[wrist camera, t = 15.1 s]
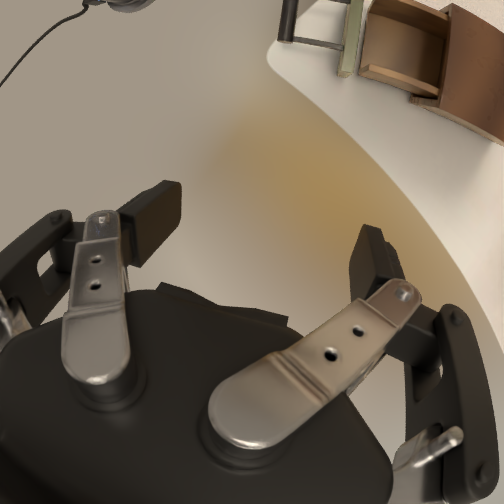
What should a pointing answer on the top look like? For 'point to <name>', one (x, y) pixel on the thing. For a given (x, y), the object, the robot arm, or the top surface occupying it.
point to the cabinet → (471, 76)
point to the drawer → (386, 43)
